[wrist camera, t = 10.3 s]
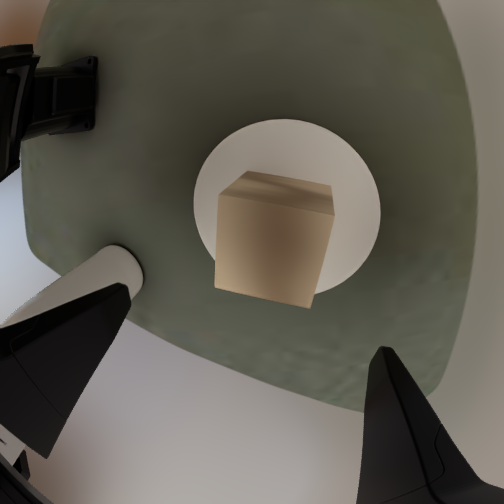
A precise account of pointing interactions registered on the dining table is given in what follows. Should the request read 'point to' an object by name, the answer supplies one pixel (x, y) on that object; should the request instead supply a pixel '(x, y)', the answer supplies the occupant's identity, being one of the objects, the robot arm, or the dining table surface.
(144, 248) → the dining table surface
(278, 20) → the dining table surface
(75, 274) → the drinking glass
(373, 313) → the dining table surface
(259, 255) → the oak block
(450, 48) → the dining table surface
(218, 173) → the plate
